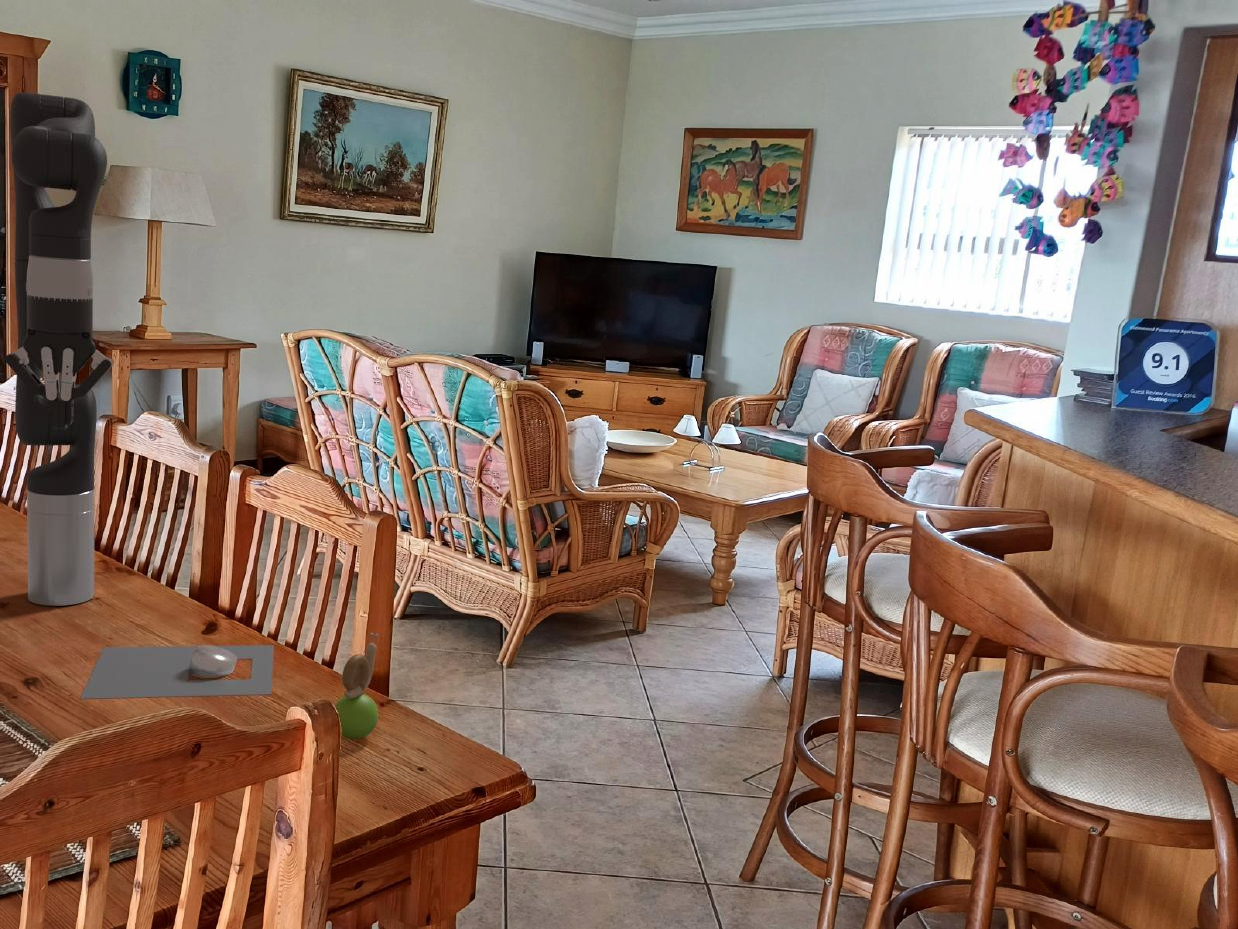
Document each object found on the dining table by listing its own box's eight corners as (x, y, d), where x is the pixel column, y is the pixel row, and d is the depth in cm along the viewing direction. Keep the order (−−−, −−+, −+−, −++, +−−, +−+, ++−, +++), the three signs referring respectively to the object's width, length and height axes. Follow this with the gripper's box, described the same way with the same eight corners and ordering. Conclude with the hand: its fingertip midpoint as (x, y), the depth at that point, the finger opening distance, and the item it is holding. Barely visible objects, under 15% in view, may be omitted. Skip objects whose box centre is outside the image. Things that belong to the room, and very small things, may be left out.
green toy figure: (390, 731, 139) (394, 636, 137) (361, 750, 133) (366, 652, 131) (351, 722, 141) (355, 628, 139) (321, 741, 135) (325, 644, 133)
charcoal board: (80, 710, 138) (80, 698, 138) (103, 657, 155) (103, 647, 155) (271, 705, 144) (271, 694, 144) (273, 655, 161) (274, 645, 161)
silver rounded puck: (191, 662, 152) (199, 641, 152) (232, 674, 153) (240, 653, 153) (183, 676, 147) (191, 654, 146) (226, 688, 148) (234, 667, 148)
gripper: (120, 295, 151) (119, 425, 154) (9, 287, 147) (10, 420, 150) (112, 299, 144) (111, 435, 147) (-5, 291, 140) (-4, 431, 143)
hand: (60, 427), depth 148 cm, fingers closed
